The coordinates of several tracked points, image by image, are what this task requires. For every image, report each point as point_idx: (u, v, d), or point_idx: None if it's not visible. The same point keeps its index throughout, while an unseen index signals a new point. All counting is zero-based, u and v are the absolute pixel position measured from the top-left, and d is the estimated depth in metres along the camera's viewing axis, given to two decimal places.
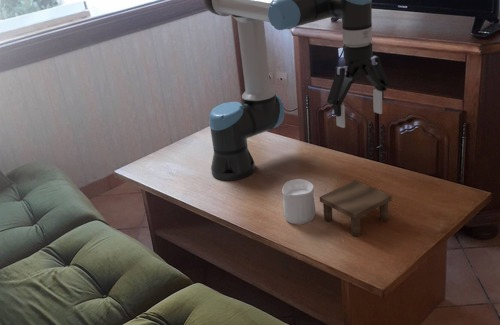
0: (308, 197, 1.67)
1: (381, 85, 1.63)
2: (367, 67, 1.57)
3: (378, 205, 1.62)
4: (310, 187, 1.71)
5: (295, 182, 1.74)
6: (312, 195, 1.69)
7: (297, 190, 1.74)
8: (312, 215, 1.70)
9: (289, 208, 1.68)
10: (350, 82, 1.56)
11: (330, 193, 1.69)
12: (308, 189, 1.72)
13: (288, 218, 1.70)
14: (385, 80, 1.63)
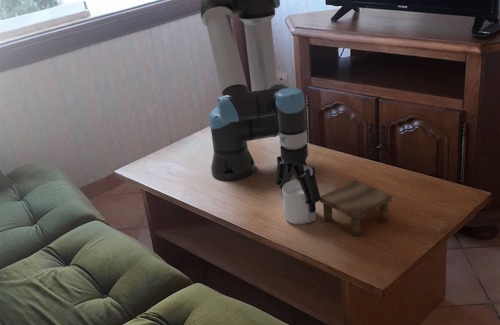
0: None
1: (307, 197, 1.65)
2: (293, 169, 1.65)
3: (378, 205, 1.62)
4: None
5: (295, 182, 1.74)
6: None
7: (297, 190, 1.74)
8: None
9: (289, 208, 1.68)
10: (285, 173, 1.70)
11: (330, 193, 1.69)
12: None
13: (288, 218, 1.70)
14: (310, 195, 1.64)
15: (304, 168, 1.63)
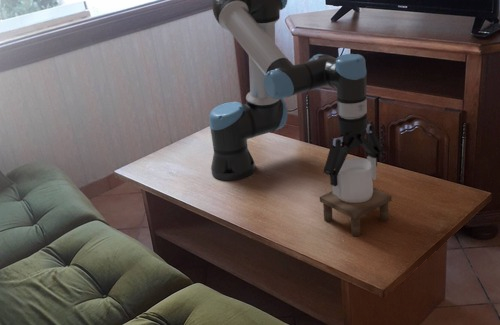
0: None
1: (375, 152, 1.64)
2: (362, 137, 1.57)
3: (378, 205, 1.62)
4: (348, 162, 1.66)
5: None
6: None
7: None
8: None
9: (370, 182, 1.61)
10: (346, 152, 1.57)
11: (330, 193, 1.69)
12: (345, 167, 1.66)
13: (369, 195, 1.62)
14: (379, 147, 1.64)
15: (366, 129, 1.60)
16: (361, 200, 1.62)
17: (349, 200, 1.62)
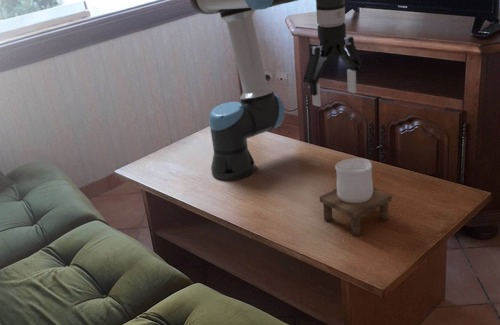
0: None
1: (355, 65, 1.68)
2: (341, 47, 1.61)
3: (378, 205, 1.62)
4: (348, 162, 1.66)
5: (338, 169, 1.62)
6: None
7: None
8: None
9: (370, 182, 1.61)
10: (325, 61, 1.60)
11: (330, 193, 1.69)
12: (346, 167, 1.66)
13: (369, 195, 1.62)
14: (358, 60, 1.68)
15: (345, 40, 1.64)
16: (361, 200, 1.62)
17: (349, 200, 1.62)
